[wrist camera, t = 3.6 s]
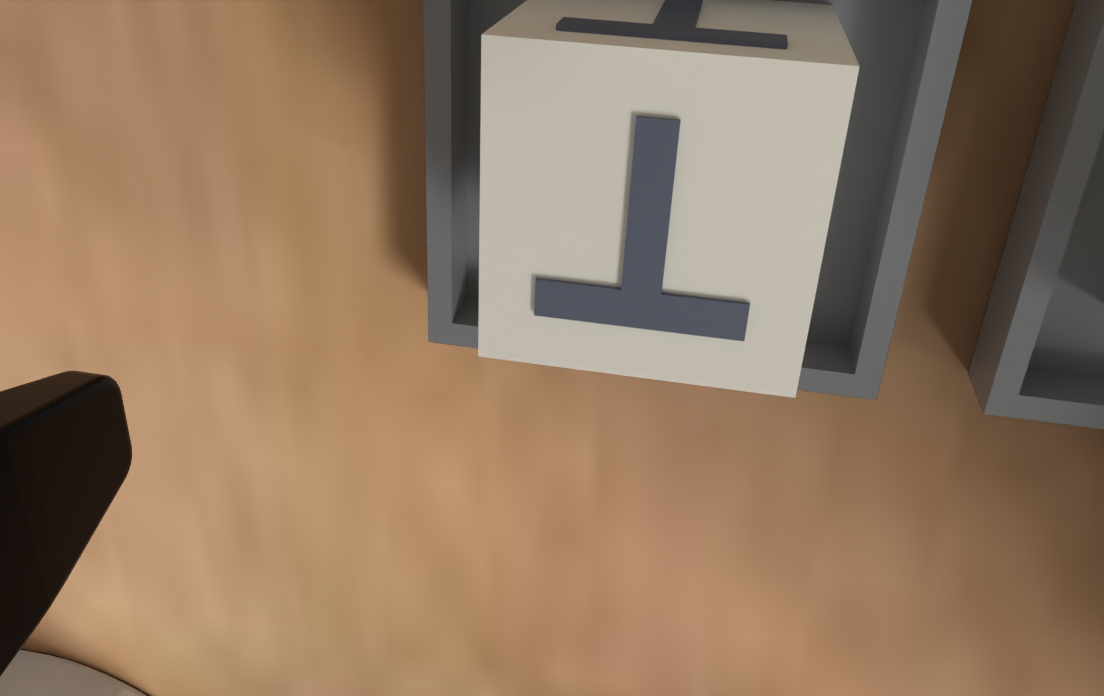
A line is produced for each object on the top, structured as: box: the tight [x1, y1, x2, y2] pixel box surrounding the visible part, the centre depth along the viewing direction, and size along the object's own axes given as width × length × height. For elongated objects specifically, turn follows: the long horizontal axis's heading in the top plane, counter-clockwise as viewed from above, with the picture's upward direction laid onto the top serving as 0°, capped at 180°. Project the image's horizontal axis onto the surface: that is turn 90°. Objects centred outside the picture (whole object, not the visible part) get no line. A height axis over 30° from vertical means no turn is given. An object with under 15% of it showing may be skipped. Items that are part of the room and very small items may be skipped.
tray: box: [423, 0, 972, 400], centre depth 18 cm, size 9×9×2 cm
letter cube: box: [478, 0, 860, 398], centre depth 16 cm, size 5×5×5 cm
